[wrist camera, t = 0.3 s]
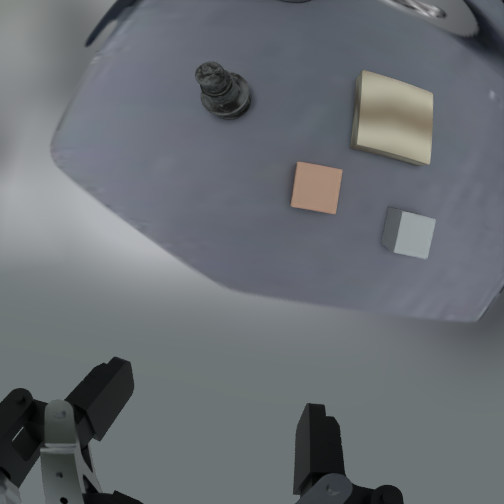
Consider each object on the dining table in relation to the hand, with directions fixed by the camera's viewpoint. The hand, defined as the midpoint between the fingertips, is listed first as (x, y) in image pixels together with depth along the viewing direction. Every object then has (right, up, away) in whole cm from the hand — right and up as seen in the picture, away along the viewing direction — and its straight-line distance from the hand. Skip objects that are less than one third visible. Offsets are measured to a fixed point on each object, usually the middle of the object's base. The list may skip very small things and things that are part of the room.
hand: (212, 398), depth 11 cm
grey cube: (+22, +10, +22) cm, 33 cm away
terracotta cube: (+9, +15, +23) cm, 29 cm away
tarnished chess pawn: (-1, +26, +21) cm, 34 cm away
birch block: (+20, +24, +19) cm, 36 cm away
